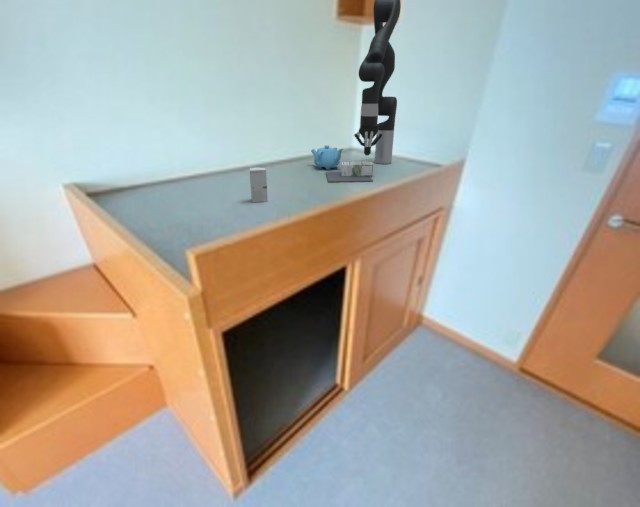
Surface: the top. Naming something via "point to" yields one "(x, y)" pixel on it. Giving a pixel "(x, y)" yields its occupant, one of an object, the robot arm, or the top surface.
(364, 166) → the syrup box
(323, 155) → the teapot
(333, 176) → the mat
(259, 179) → the skincare box
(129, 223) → the top surface
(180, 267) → the top surface
